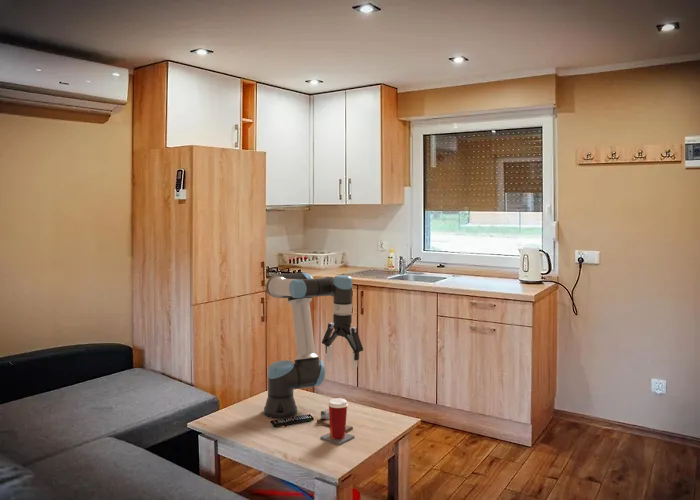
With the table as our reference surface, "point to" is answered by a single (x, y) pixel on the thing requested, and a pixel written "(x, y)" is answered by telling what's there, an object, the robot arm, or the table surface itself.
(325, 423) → the base
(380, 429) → the table surface
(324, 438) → the slate pad
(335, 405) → the coffee cup
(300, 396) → the table surface
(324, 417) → the bar
